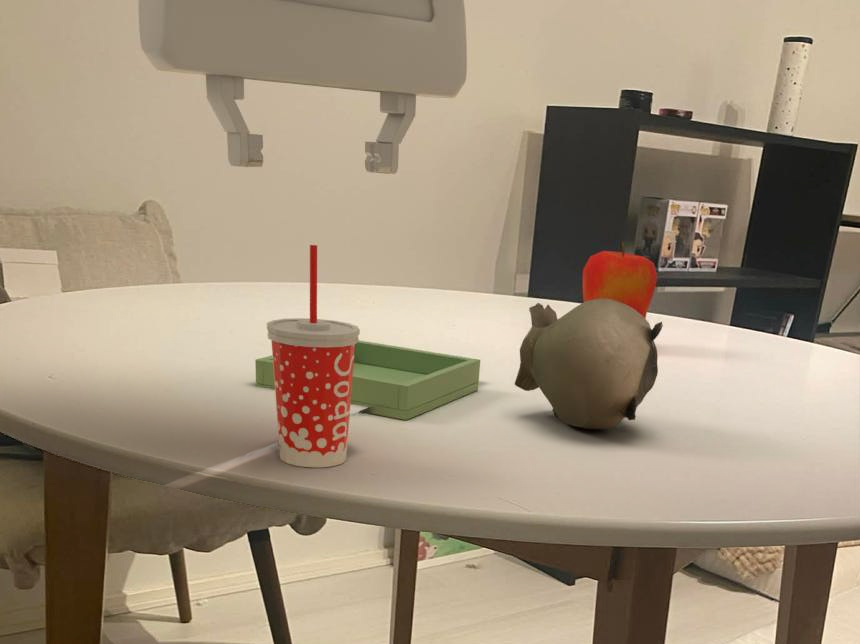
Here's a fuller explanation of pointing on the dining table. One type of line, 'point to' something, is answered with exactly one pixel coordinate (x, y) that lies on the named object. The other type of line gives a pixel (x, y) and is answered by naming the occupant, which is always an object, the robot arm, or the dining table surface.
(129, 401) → the dining table surface
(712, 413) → the dining table surface
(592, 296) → the apple
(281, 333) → the beverage cup
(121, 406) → the dining table surface
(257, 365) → the drinks tray
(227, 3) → the robot arm
